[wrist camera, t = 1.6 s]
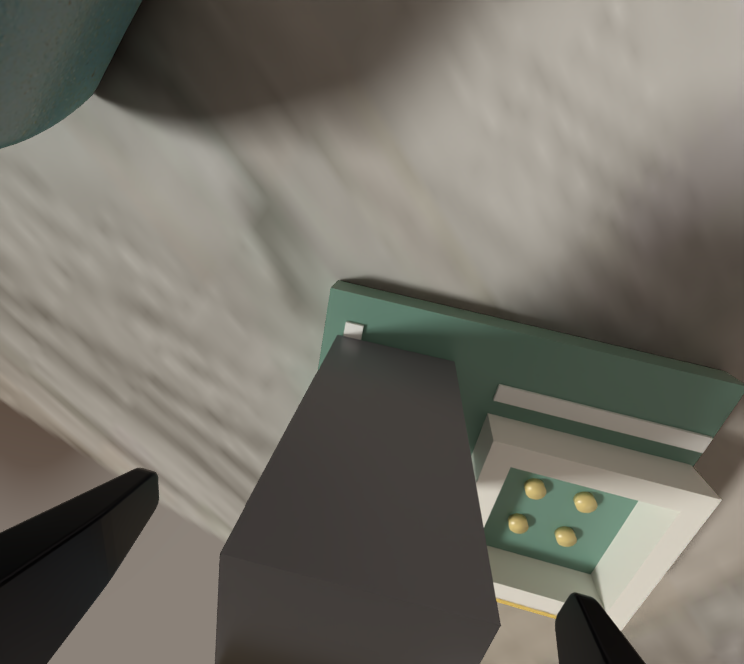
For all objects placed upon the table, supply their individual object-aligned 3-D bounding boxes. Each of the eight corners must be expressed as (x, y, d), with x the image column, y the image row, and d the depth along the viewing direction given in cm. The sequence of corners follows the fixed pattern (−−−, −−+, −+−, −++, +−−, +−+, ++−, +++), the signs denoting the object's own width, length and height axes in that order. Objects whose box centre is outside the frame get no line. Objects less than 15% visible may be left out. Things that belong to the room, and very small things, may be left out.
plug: (454, 361, 12) (510, 679, 5) (425, 454, 14) (428, 809, 6) (330, 333, 13) (177, 592, 5) (314, 427, 14) (180, 741, 6)
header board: (725, 371, 12) (791, 415, 10) (584, 586, 17) (608, 651, 14) (338, 280, 13) (317, 301, 11) (301, 506, 18) (281, 555, 15)
